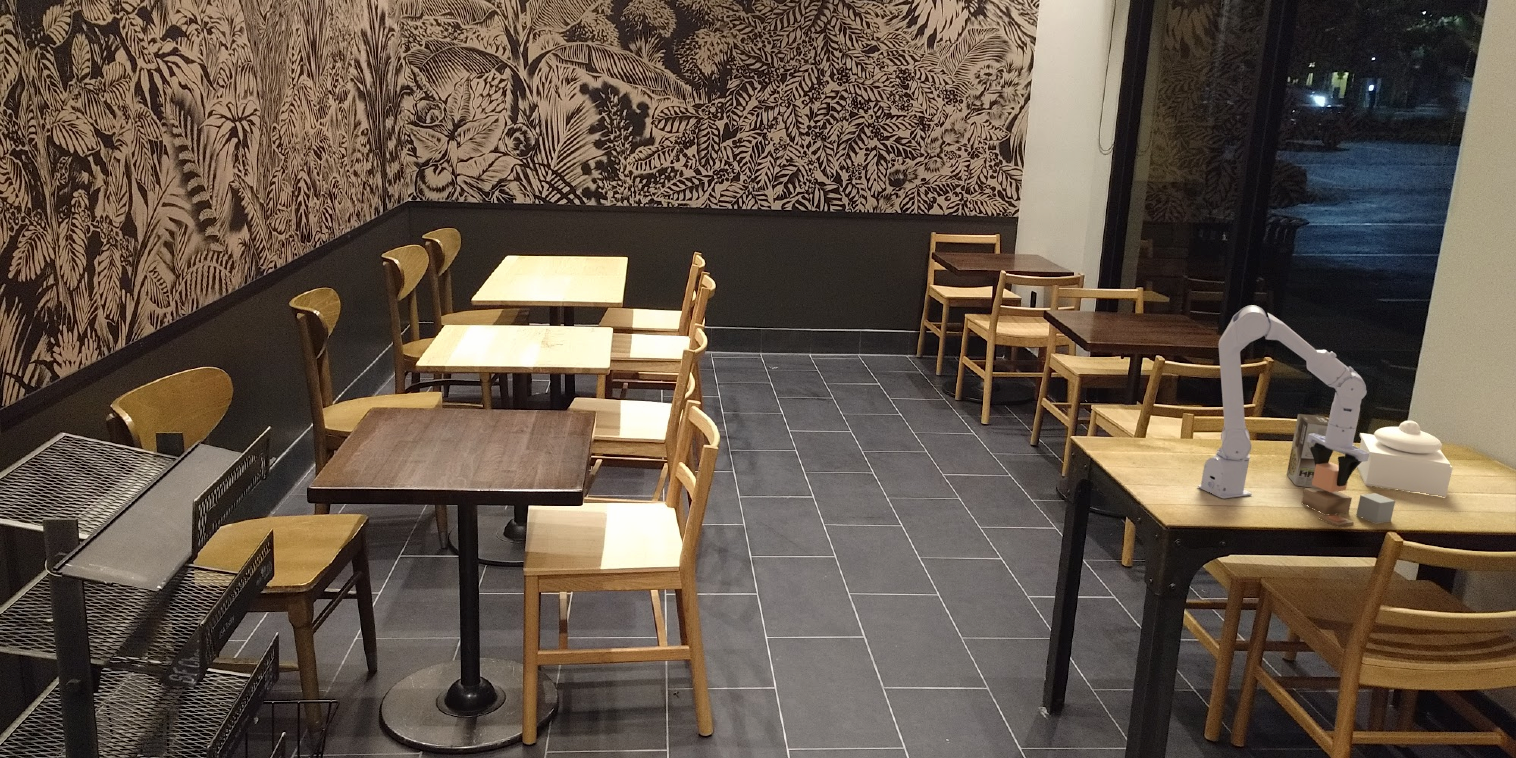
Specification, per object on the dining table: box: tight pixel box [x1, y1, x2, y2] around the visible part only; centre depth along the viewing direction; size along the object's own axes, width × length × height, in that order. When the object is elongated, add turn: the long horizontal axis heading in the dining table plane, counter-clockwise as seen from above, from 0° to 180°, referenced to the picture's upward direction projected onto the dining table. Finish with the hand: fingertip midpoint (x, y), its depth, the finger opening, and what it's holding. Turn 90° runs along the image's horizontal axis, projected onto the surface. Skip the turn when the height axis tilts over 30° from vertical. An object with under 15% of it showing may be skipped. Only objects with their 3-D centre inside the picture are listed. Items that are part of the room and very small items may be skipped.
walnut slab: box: [1301, 487, 1353, 515], centre depth 258 cm, size 7×7×4 cm
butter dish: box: [1356, 420, 1454, 498], centre depth 279 cm, size 18×18×16 cm
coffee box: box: [1286, 413, 1329, 488], centre depth 274 cm, size 9×6×16 cm
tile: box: [1318, 514, 1355, 528], centre depth 250 cm, size 5×5×1 cm
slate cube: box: [1355, 492, 1396, 524], centre depth 253 cm, size 5×5×5 cm
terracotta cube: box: [1312, 461, 1348, 492], centre depth 256 cm, size 5×5×5 cm
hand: (1330, 481), depth 256 cm, fingers closed on terracotta cube, 5 cm apart
